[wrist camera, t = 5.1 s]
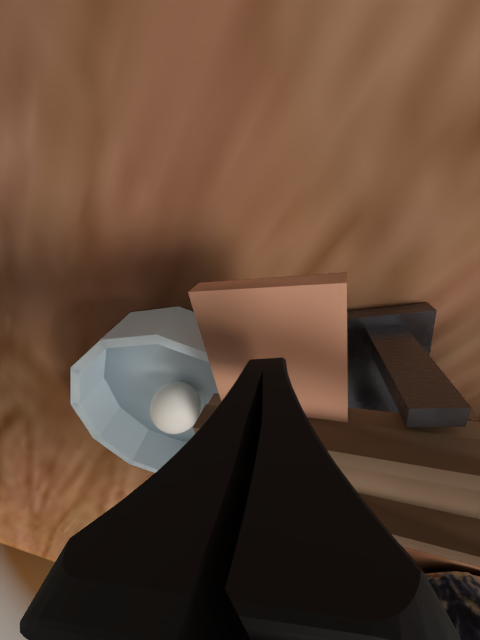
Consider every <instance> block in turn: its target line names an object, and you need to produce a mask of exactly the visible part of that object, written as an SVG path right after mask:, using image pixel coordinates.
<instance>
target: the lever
mask: <svg viewBox="0 0 480 640" xmlns="http://www.w3.org/2000/svg"><path fill="white" fill-rule="evenodd" d="M188 294H189V297H190V300H191V304H192V307H193V310H194V314H195V317H196V320H197V323H198V327H199V330H200V333H201V337H202V340H203V343H204V346H205V350H206V353H207V356H208V360H209V363H210V366H211V369H212V373H213V376H214V379H215V383H216V386H217V389H218V392H219V393H214V394H213V396H212V398H211V399H210V401H209V403H208V405H207V404H206V405H205V407H204V408H203V410H202V412H201V414H200V415H199V417H198V419H197V421H196V422H195V424H194V426H193V430H194V432H195V433H196V432H197V431H198V430H199V429H200V428H201V427H202V425H203V424H204V423H205V422H206V421H207V420H208V418H209V417H210V416H211V414H212V413H213V412H214V411H215V409H216V408H217V407H218V406H219V404H220V403H221V402H222V400H223V399H224V398H225V396H226V395H227V393H228V392H229V390H230V389H231V388H232V386H233V385H234V383H235V382H236V380H237V378H238V377H239V375H240V374H241V372H242V371H243V369H244V367H245V366H246V364H247V362H248V361H249V360H251V359H266V358H280V357H283V358H284V359H285V360H286V364H287V371H288V375H289V378H290V382H291V384H292V387H293V389H294V391H295V394H296V396H297V398H298V401H299V403H300V405H301V407H302V409H303V411H304V412H305V414H306V416H307V418H308V420H309V422H310V424H311V425H312V427H313V429H314V430H315V432H316V434H317V435H318V437H319V439H320V440H321V442H322V443H323V445H324V447H325V448H326V450H327V451H328V453H329V454H330V456H331V457H332V459H333V460H334V461H335V463H336V464H337V466H338V467H339V468H340V470H341V471H342V472H343V474H344V475H345V476H346V478H347V479H348V480H349V482H350V483H351V485H352V486H353V487H354V489H355V490H356V491H357V493H358V494H359V495H360V497H361V498H362V499H363V500H364V502H365V503H366V504H367V505H368V506H369V508H370V509H371V510H372V511H373V513H374V514H375V515H376V516H377V518H378V519H379V520H380V521H381V523H382V524H383V525H384V526H385V527H386V528H387V530H388V531H389V532H390V533H391V534H392V535H393V537H394V538H395V539H396V540H397V541H398V543H399V544H400V545H401V546H403V547H407V548H411V549H415V550H418V551H422V552H426V553H429V554H433V555H437V556H440V557H444V558H448V559H451V560H455V561H459V562H462V563H466V564H470V565H473V566H477V567H480V422H478V421H468V420H467V424H466V427H406V426H405V424H404V422H403V419H402V417H401V415H400V413H394V412H385V411H376V410H367V409H357V408H348V371H347V272H343V273H329V274H315V275H301V276H287V277H273V278H259V279H245V280H231V281H217V282H203V283H198V284H197V285H196V286H194V287H193V288H192V289H191V290H190V291H188Z"/></svg>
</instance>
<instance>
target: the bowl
mask: <svg viewBox="0 0 480 640" xmlns="http://www.w3.org/2000/svg"><path fill="white" fill-rule="evenodd" d="M171 382H184V383H187V384H189V385H191V386H192V387H193V388H194V389H195V390H196V391H197V393H198V394H199V397H200V400H201V412H202V410H203V408H204V407H205V405H206V404H207V405H208V403H209V401H210V399H211V398H212V396H213V394H214V393H219V392H218V389H217V386H216V383H215V379H214V376H213V373H212V369H211V366H210V363H209V360H208V356H207V353H206V350H205V346H204V343H203V340H202V337H201V333H200V330H199V327H198V323H197V320H196V317H195V314H194V312H192V311H190V310H187V309H184V308H182V307H179V306H177V307H169V308H161V309H153V310H145V311H136V312H130V313H129V314H128V315H127V316H126V317H125V318H124V319H123V320H121V321H120V322H119V323H118V324H117V325H116V326H115V327H114V328H113V329H111V330H110V331H109V332H108V333H107V334H106V335H105V336H104V337H103V338H101V339H100V341H99V342H98V343H96V344H95V345H94V346H93V347H92V348H91V349H90V350H89V351H88V352H87V353H86V354H85V355H84V356H83V357H81V358H80V359H79V360H78V361H77V362H76V363H75V364H74V365H73V366H72V367H71V405H72V407H73V408H74V410H75V411H76V413H77V415H78V416H79V418H80V419H81V421H82V422H83V424H84V425H85V427H86V428H87V430H88V431H89V433H90V434H91V436H92V437H93V439H95V440H96V441H98V442H99V443H101V444H102V445H103V446H105V447H106V448H107V449H109V450H110V451H112V452H113V453H114V454H116V455H117V456H119V457H120V458H121V459H123V460H124V461H126V462H127V463H128V464H130V465H133V466H136V467H139V468H142V469H145V470H148V471H151V472H154V473H156V472H157V471H158V470H159V469H160V468H161V467H162V466H163V465H164V464H166V463H167V462H168V461H169V460H170V459H171V458H172V457H173V456H174V455H175V454H176V453H177V452H178V451H179V450H180V449H181V448H182V447H183V446H184V445H185V444H186V443H187V442H188V441H189V440H190V439H191V438H192V437H193V436H194V434H195V432H194V430H193V426H194V425H193V426H192V427H191V428H190V429H188V430H187V431H185V432H182V433H178V434H169V433H165V432H163V431H161V430H160V429H158V428H157V427H156V426H155V424H154V423H153V421H152V419H151V415H150V404H151V400H152V398H153V396H154V394H155V393H156V392H157V390H159V389H160V388H161V387H162V386H164V385H165V384H168V383H171ZM201 412H200V414H201Z"/></svg>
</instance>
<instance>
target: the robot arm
mask: <svg viewBox="0 0 480 640" xmlns="http://www.w3.org/2000/svg"><path fill="white" fill-rule="evenodd" d="M20 633H21V634H22V635H23V636H24V637H25V638H27V639H28V640H460V638H459V635H458V633H457V631H456V629H455V627H454V625H453V623H452V621H451V620H450V618H449V616H448V614H447V612H446V610H445V609H444V607H443V605H442V603H441V601H440V600H439V598H438V596H437V594H436V593H435V591H434V589H433V588H432V586H431V584H430V582H429V581H428V579H427V577H426V576H425V574H424V572H423V571H422V569H421V568H420V567H419V565H418V564H417V563H416V562H415V561H414V560H413V558H412V557H411V556H410V555H409V554H408V553H407V552H406V551H405V549H404V548H403V547H402V546H401V545H400V544H399V543H398V541H397V540H396V539H395V538H394V537H393V535H392V534H391V533H390V532H389V531H388V530H387V528H386V527H385V526H384V525H383V524H382V523H381V521H380V520H379V519H378V518H377V516H376V515H375V514H374V513H373V511H372V510H371V509H370V508H369V506H368V505H367V504H366V503H365V502H364V500H363V499H362V498H361V497H360V495H359V494H358V493H357V491H356V490H355V489H354V487H353V486H352V485H351V483H350V482H349V480H348V479H347V478H346V476H345V475H344V474H343V472H342V471H341V470H340V468H339V467H338V466H337V464H336V463H335V461H334V460H333V459H332V457H331V456H330V454H329V453H328V451H327V450H326V448H325V447H324V445H323V443H322V442H321V440H320V439H319V437H318V435H317V434H316V432H315V430H314V429H313V427H312V425H311V424H310V422H309V420H308V418H307V416H306V414H305V412H304V411H303V409H302V407H301V405H300V403H299V401H298V398H297V396H296V394H295V391H294V389H293V387H292V384H291V382H290V378H289V375H288V371H287V364H286V360H285V359H284V358H283V357H280V358H266V359H251V360H249V361H248V362H247V364H246V366H245V367H244V369H243V371H242V372H241V374H240V375H239V377H238V378H237V380H236V382H235V383H234V385H233V386H232V388H231V389H230V390H229V392H228V393H227V395H226V396H225V398H224V399H223V400H222V402H221V403H220V404H219V406H218V407H217V408H216V409H215V411H214V412H213V413H212V414H211V416H210V417H209V418H208V420H207V421H206V422H205V423H204V424H203V425H202V427H201V428H200V429H199V430H198V431H197V432H196V433H195V434H194V436H193V437H192V438H191V439H190V440H189V441H188V442H187V443H186V444H185V445H184V446H183V447H182V448H181V449H180V450H179V451H178V452H177V453H176V454H175V455H174V456H173V457H172V458H171V459H170V460H169V461H168V462H167V463H166V464H164V465H163V466H162V467H161V468H160V469H159V470H158V471H157V472H156V473H155V474H153V475H152V476H151V477H150V478H149V479H147V480H146V481H145V482H144V483H143V484H142V485H140V486H139V487H138V488H137V489H135V490H134V491H133V492H132V493H130V494H129V495H128V496H127V497H126V498H124V499H123V500H122V501H120V502H119V503H118V504H116V505H115V506H114V507H112V508H111V509H110V510H108V511H107V512H106V513H104V514H103V515H101V516H100V517H99V518H97V519H96V520H95V521H93V522H92V523H90V524H89V525H88V526H86V527H85V528H84V529H82V530H81V531H79V532H78V533H77V534H75V535H74V536H72V537H71V538H70V539H69V541H68V542H67V544H66V545H65V547H64V549H63V550H62V552H61V553H60V555H59V557H58V558H57V560H56V562H55V564H54V565H53V567H52V569H51V570H50V572H49V574H48V575H47V577H46V579H45V580H44V582H43V584H42V586H41V587H40V589H39V591H38V592H37V594H36V596H35V598H34V599H33V601H32V602H31V604H30V606H29V607H28V609H27V611H26V612H25V614H24V616H23V618H22V619H21V621H20Z"/></svg>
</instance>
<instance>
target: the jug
mask: <svg viewBox="0 0 480 640" xmlns="http://www.w3.org/2000/svg"><path fill="white" fill-rule="evenodd" d="M425 576H426V577H427V579H428V581H429V582H430V584H431V586H432V588H433V589H434V591H435V593H436V594H437V596H438V598H439V600H440V601H441V603H442V605H443V607H444V609H445V610H446V612H447V614H448V616H449V618H450V620H451V621H452V623H453V625H454V627H455V629H456V631H457V633H458V635H459V638H460V640H480V576H475V575H472V574H470V573H468V572H458V571H451V572H436V573H425Z"/></svg>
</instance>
